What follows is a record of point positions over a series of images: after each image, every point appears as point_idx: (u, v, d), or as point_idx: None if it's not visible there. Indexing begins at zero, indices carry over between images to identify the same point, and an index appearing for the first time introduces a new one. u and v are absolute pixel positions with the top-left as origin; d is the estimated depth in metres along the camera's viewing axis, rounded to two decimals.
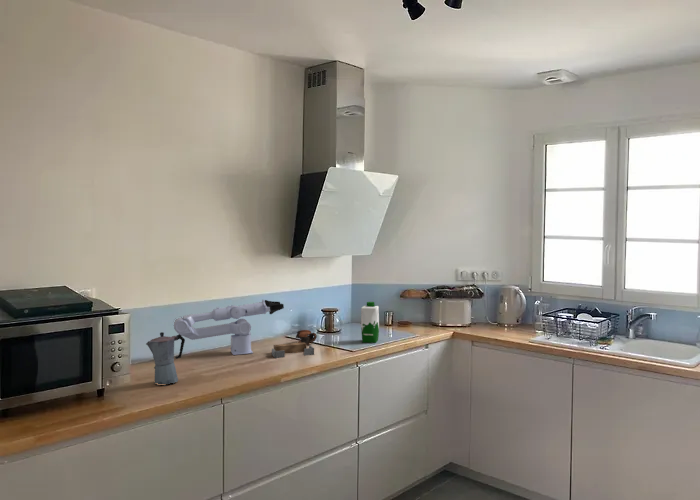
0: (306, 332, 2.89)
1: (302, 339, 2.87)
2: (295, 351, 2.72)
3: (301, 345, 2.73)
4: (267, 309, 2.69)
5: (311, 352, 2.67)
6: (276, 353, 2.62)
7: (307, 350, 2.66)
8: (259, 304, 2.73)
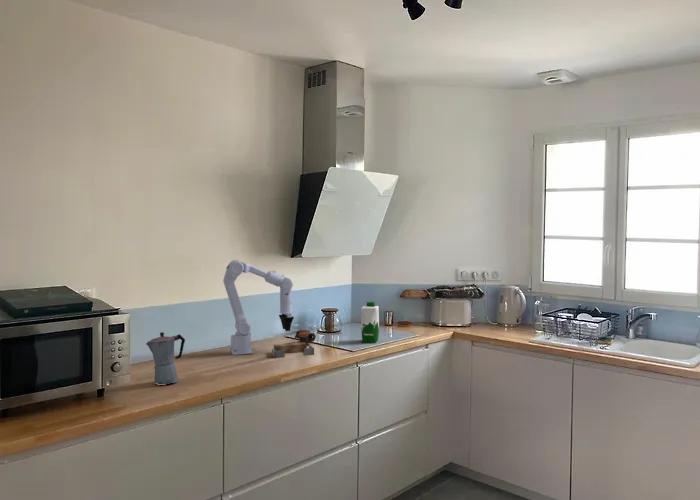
0: (305, 332, 2.89)
1: (301, 339, 2.86)
2: (295, 351, 2.72)
3: (301, 345, 2.73)
4: (289, 314, 2.72)
5: (311, 352, 2.67)
6: (276, 353, 2.62)
7: (307, 350, 2.66)
8: (291, 307, 2.77)
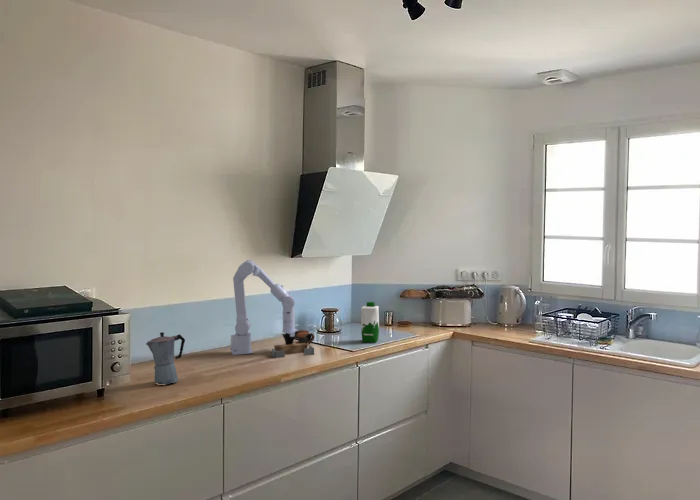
0: (304, 332, 2.88)
1: (300, 340, 2.86)
2: (296, 352, 2.70)
3: (302, 346, 2.71)
4: (292, 334, 2.68)
5: (311, 352, 2.67)
6: (276, 353, 2.62)
7: (307, 350, 2.66)
8: (293, 326, 2.73)
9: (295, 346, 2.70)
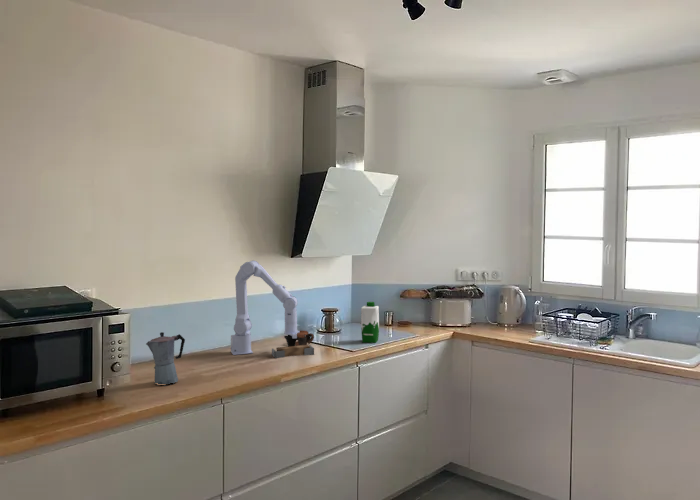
0: (303, 333, 2.88)
1: (299, 340, 2.85)
2: (298, 354, 2.66)
3: (304, 348, 2.67)
4: (295, 335, 2.63)
5: (311, 352, 2.67)
6: (276, 353, 2.62)
7: (307, 350, 2.66)
8: (296, 328, 2.69)
9: (298, 348, 2.66)
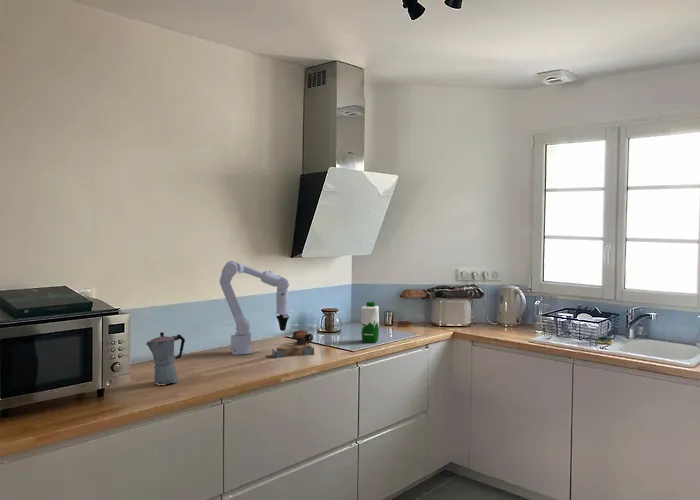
0: (302, 333, 2.87)
1: (298, 340, 2.85)
2: (299, 354, 2.66)
3: (305, 348, 2.67)
4: (285, 315, 2.69)
5: (311, 352, 2.67)
6: (276, 353, 2.62)
7: (307, 350, 2.66)
8: (287, 308, 2.74)
9: (298, 348, 2.66)
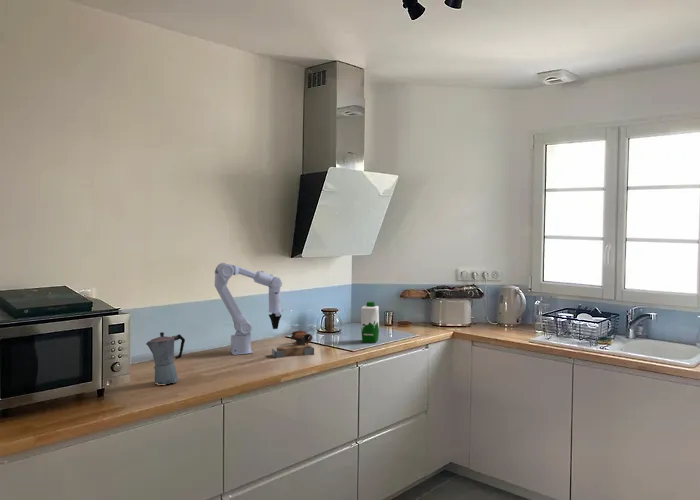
0: (301, 333, 2.87)
1: (297, 340, 2.84)
2: (299, 354, 2.66)
3: (305, 348, 2.67)
4: (278, 313, 2.73)
5: (311, 352, 2.67)
6: (276, 353, 2.62)
7: (307, 350, 2.66)
8: (279, 306, 2.78)
9: (298, 348, 2.66)
